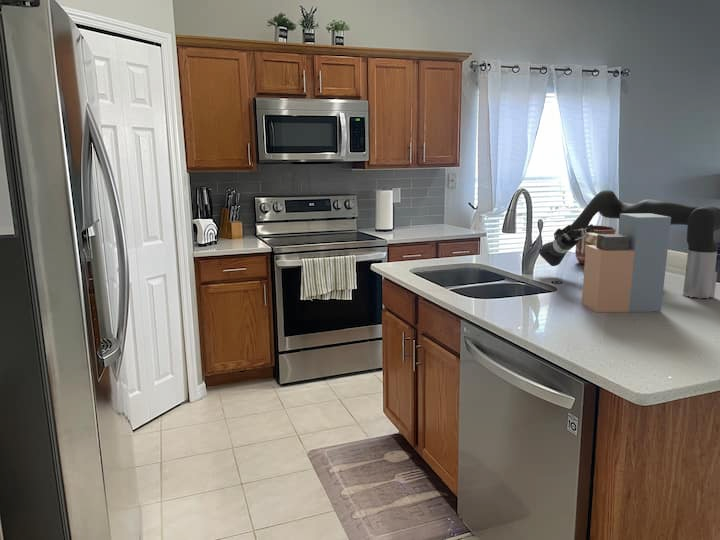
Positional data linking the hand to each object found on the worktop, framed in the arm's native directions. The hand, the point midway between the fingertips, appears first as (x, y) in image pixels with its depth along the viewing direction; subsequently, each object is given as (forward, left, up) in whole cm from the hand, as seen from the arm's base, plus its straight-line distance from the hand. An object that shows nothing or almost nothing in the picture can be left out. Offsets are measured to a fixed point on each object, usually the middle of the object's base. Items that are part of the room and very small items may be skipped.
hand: (581, 226), depth 209 cm
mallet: (0, +18, -4) cm, 19 cm away
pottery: (-29, -52, -25) cm, 65 cm away
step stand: (-5, +24, -25) cm, 35 cm away
